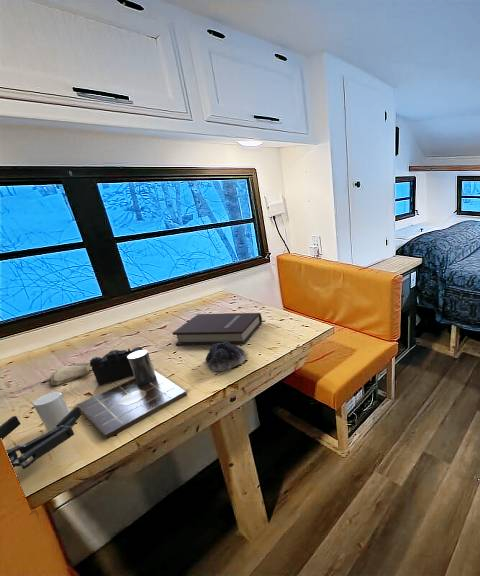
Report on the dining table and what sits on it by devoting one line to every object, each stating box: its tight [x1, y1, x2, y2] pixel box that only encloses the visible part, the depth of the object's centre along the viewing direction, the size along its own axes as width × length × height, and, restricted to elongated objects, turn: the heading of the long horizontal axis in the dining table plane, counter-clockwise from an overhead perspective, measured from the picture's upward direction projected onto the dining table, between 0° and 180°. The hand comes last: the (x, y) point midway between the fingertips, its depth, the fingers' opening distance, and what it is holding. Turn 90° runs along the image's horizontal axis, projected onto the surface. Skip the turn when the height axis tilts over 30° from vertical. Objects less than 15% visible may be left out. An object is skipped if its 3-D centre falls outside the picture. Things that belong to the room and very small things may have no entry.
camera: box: [89, 346, 144, 386], centre depth 105 cm, size 14×11×10 cm
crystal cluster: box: [205, 341, 246, 372], centre depth 110 cm, size 13×14×10 cm
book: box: [172, 312, 263, 347], centre depth 132 cm, size 28×20×6 cm
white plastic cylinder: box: [32, 391, 75, 433], centre depth 82 cm, size 5×5×10 cm
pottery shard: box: [50, 362, 91, 386], centre depth 106 cm, size 11×4×10 cm
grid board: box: [76, 369, 188, 440], centre depth 92 cm, size 22×20×2 cm
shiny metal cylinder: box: [127, 349, 156, 385], centre depth 98 cm, size 5×5×10 cm
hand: (48, 415), depth 80 cm, fingers open, 13 cm apart
